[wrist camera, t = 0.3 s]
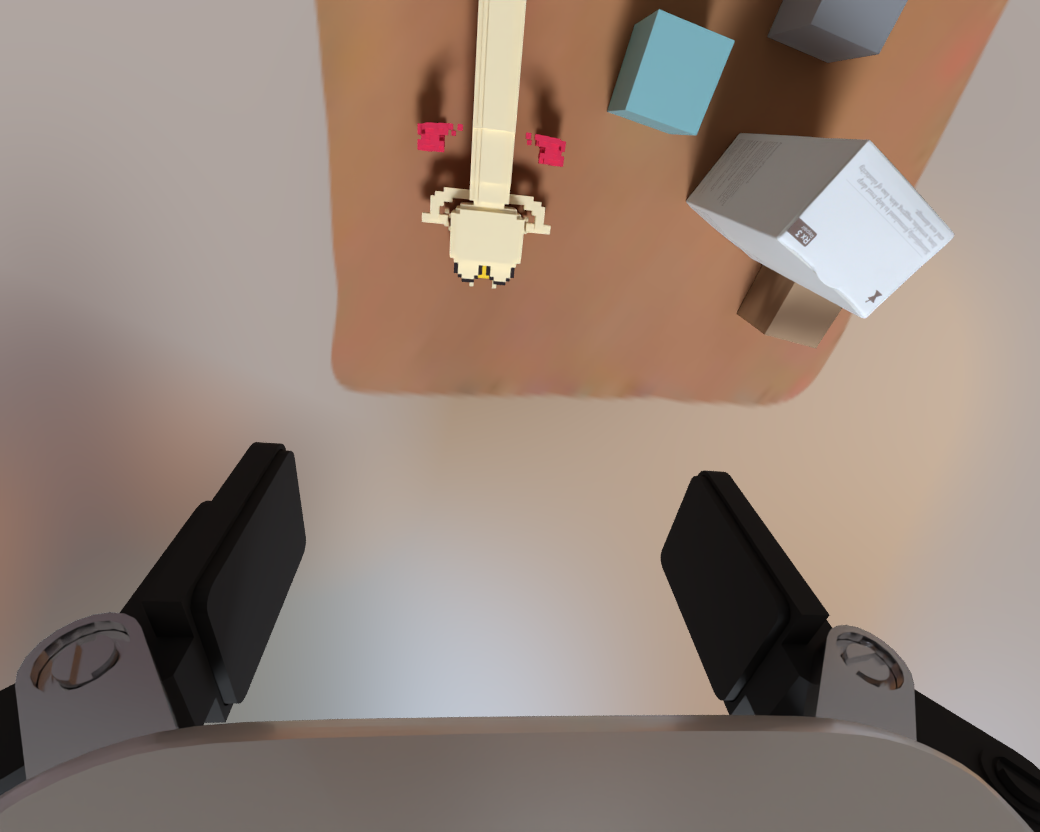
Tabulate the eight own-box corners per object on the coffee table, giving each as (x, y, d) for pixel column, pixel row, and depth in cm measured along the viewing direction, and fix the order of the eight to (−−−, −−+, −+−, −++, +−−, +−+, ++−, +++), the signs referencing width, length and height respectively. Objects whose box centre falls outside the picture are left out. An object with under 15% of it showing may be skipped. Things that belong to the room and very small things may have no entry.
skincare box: (803, 197, 38) (969, 234, 25) (747, 262, 40) (870, 326, 27) (734, 127, 35) (880, 130, 22) (677, 202, 37) (779, 242, 24)
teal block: (634, 25, 31) (658, 9, 27) (701, 51, 32) (734, 40, 28) (606, 111, 34) (625, 109, 29) (669, 133, 35) (696, 135, 30)
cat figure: (423, -168, 27) (420, 278, 38) (402, -307, 19) (406, 305, 30) (592, -134, 28) (542, 289, 39) (637, -253, 20) (558, 317, 31)
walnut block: (765, 258, 40) (799, 274, 36) (814, 273, 41) (853, 290, 37) (736, 313, 42) (764, 334, 38) (783, 326, 43) (815, 348, 39)
